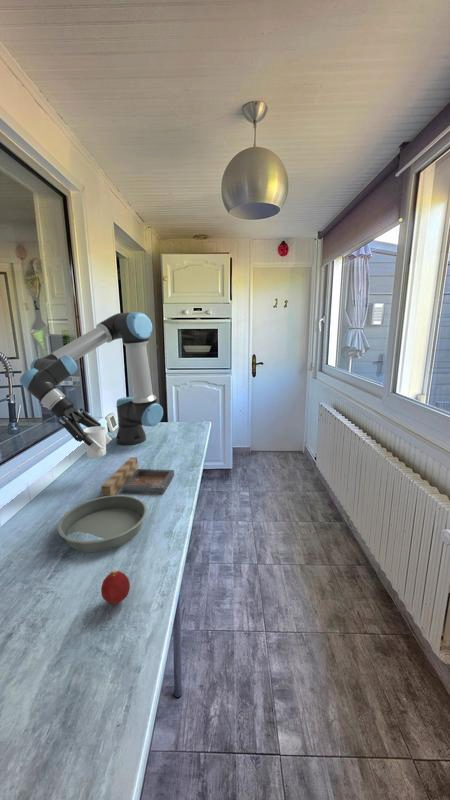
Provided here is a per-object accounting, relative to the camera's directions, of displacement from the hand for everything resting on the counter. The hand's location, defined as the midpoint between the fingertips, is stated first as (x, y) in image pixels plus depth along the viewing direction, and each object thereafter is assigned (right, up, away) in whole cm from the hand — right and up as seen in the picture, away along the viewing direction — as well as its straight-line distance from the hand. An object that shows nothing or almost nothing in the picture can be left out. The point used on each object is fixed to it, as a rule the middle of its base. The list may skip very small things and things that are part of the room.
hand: (104, 445), depth 126 cm
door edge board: (+6, -15, +3) cm, 16 cm away
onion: (+22, -27, -53) cm, 63 cm away
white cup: (-3, -4, +1) cm, 5 cm away
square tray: (+17, -15, +1) cm, 22 cm away
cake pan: (+10, -21, -26) cm, 35 cm away
